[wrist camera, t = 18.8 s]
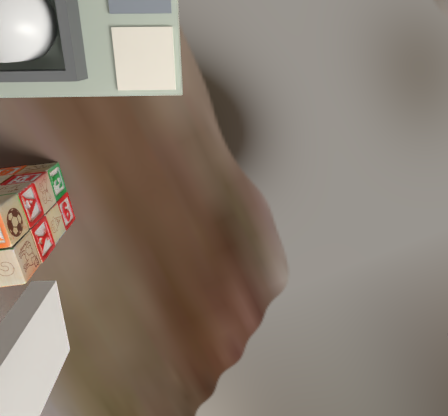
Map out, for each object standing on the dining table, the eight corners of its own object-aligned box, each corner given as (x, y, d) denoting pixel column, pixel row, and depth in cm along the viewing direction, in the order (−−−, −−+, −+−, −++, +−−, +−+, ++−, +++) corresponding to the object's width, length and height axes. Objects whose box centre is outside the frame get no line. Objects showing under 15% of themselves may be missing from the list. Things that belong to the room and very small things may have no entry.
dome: (-12, 61, 32) (-37, 63, 29) (-31, -23, 30) (-60, -32, 27) (62, 60, 32) (46, 62, 29) (49, -24, 30) (30, -32, 27)
